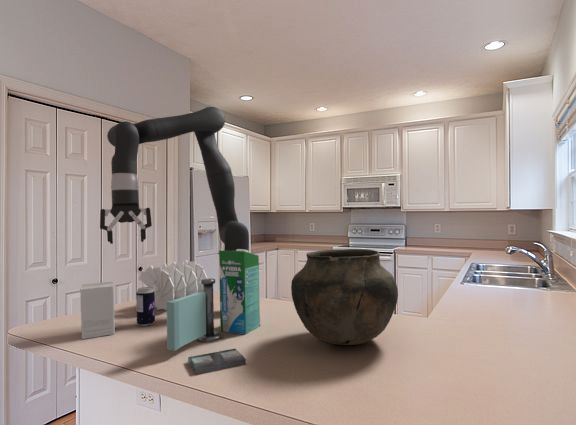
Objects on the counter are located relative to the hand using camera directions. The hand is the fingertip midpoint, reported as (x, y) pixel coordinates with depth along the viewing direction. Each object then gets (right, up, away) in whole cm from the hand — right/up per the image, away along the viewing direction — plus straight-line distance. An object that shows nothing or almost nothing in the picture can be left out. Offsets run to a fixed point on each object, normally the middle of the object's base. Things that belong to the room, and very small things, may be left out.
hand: (127, 242), depth 111 cm
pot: (+64, -27, -10) cm, 70 cm away
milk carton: (+34, -28, +4) cm, 44 cm away
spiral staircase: (+4, -29, +36) cm, 46 cm away
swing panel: (+22, -25, -13) cm, 36 cm away
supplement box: (-10, -28, +2) cm, 30 cm away
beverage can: (+2, -28, +10) cm, 30 cm away
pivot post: (+26, -28, -4) cm, 38 cm away
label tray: (+32, -27, -23) cm, 48 cm away
